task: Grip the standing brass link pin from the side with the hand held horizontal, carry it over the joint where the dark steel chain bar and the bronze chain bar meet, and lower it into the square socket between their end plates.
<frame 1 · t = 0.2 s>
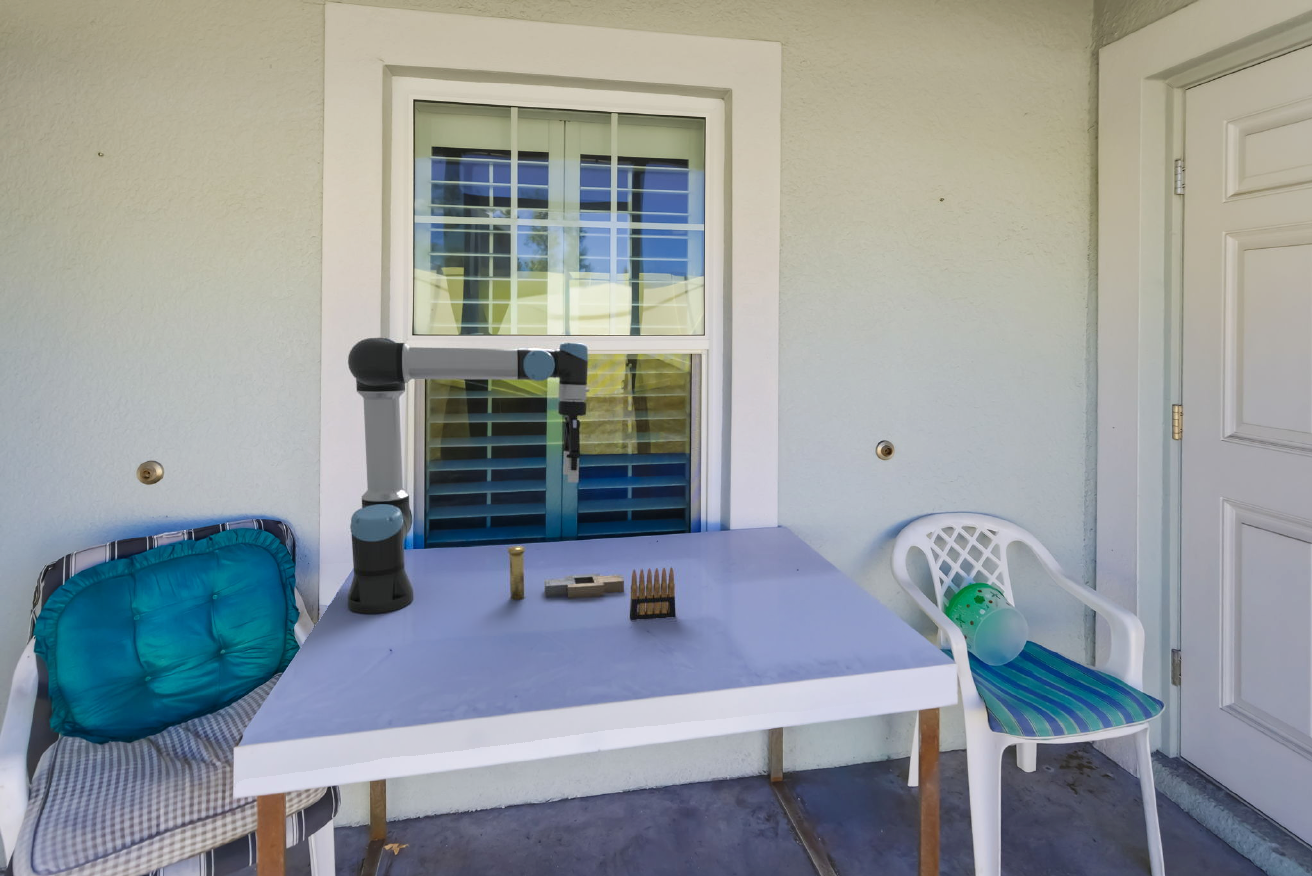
hand: (570, 478, 191), 27 cm above the table, tool pointing down, fingers open, 13 cm apart
chain joint: (584, 591, 181), on the table
link pin: (517, 597, 176), on the table
ammunition clip: (652, 618, 164), on the table
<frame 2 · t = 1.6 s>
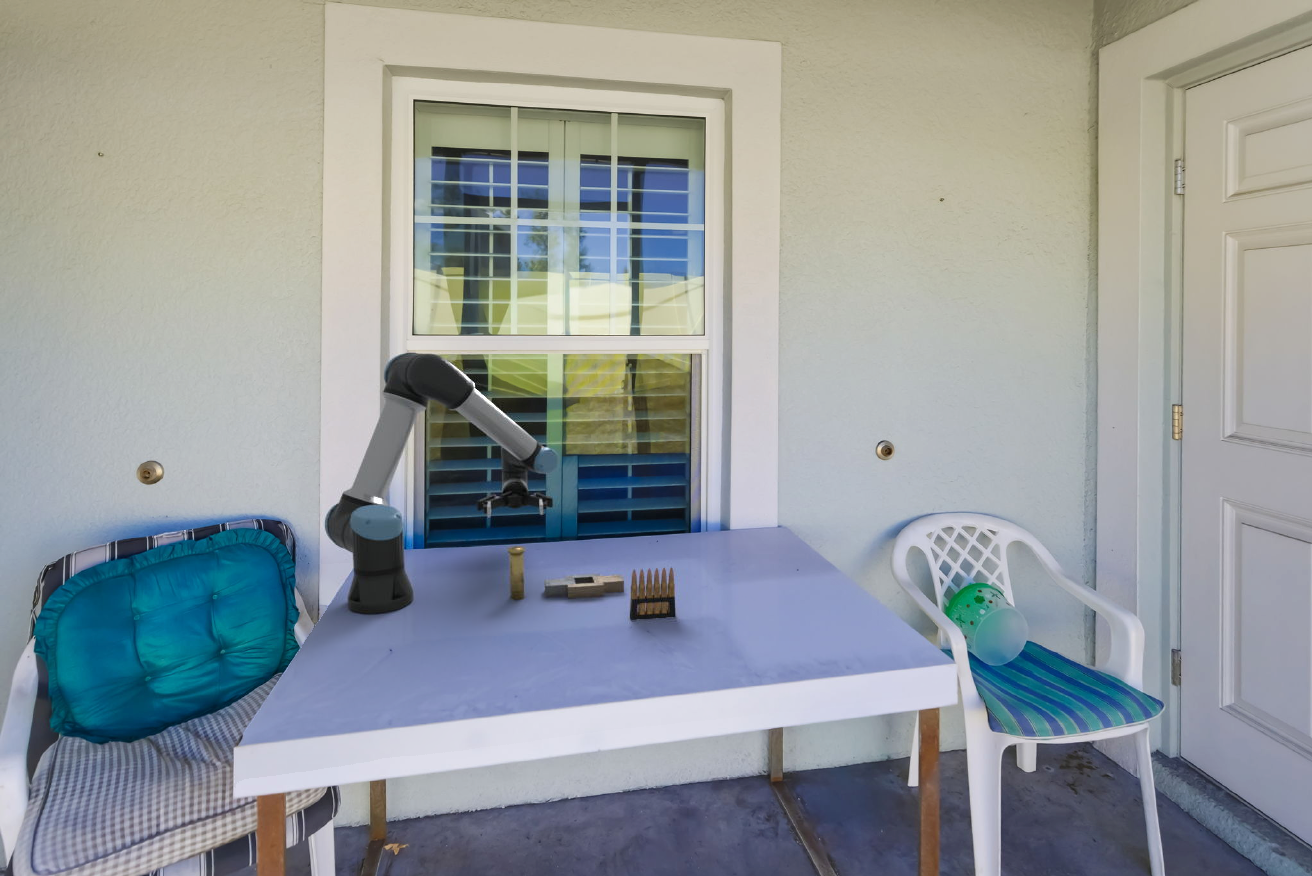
hand: (515, 511, 183), 20 cm above the table, tool horizontal, fingers open, 13 cm apart
nothing on the table moved.
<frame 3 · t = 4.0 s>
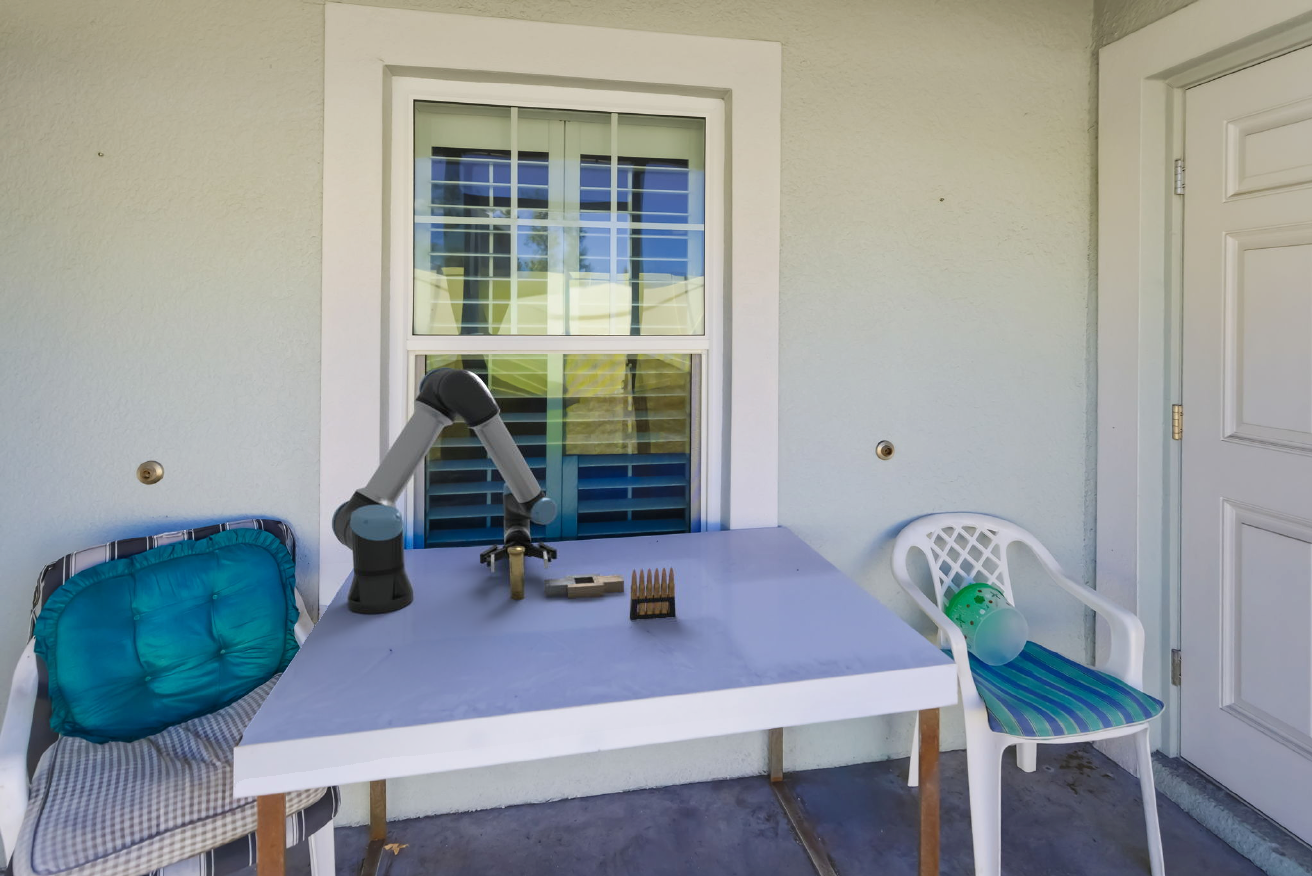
hand: (519, 565, 180), 7 cm above the table, tool horizontal, fingers open, 13 cm apart
nothing on the table moved.
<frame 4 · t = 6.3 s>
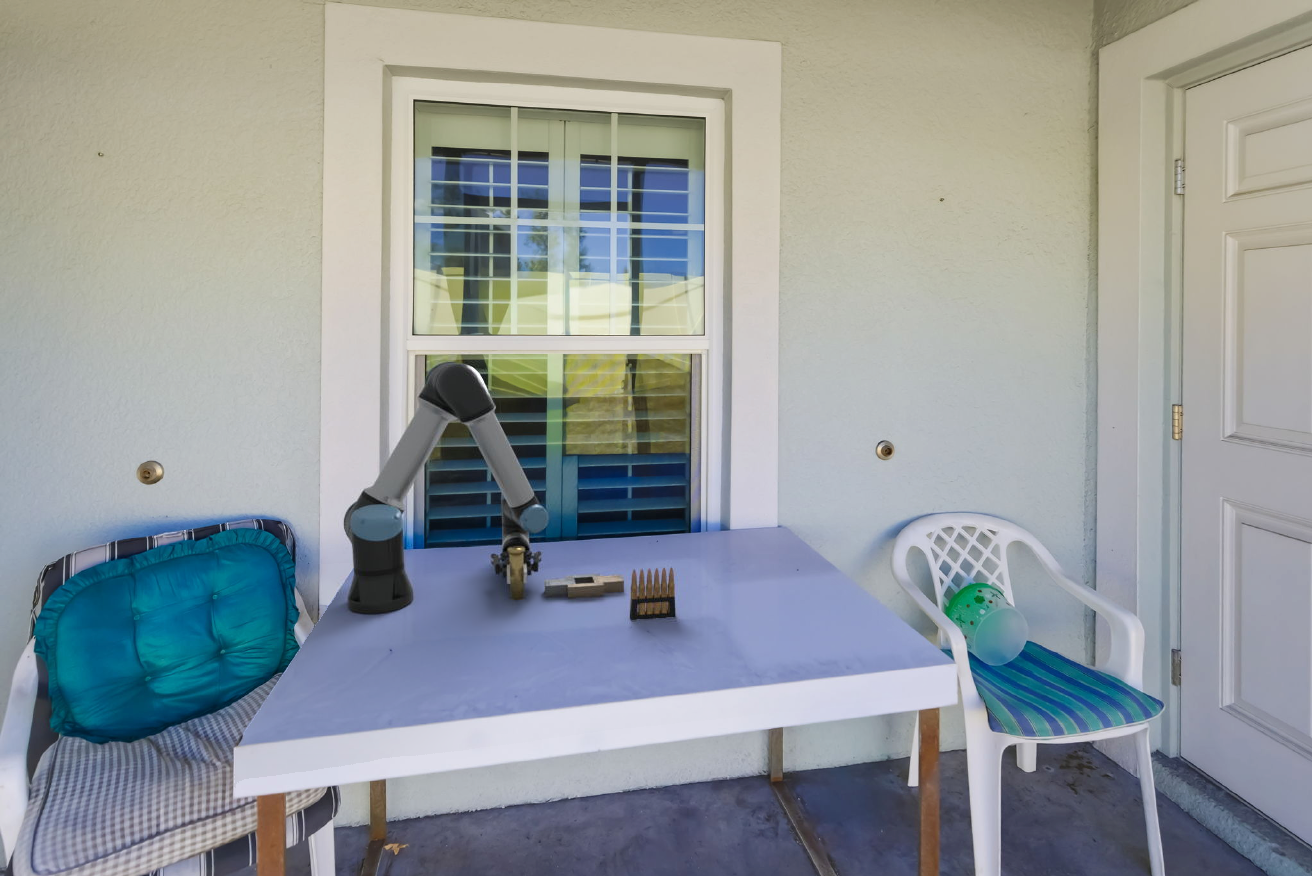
hand: (517, 577, 170), 7 cm above the table, tool horizontal, fingers closed on link pin, 3 cm apart
link pin: (517, 597, 176), on the table, touching gripper
everything else where it was.
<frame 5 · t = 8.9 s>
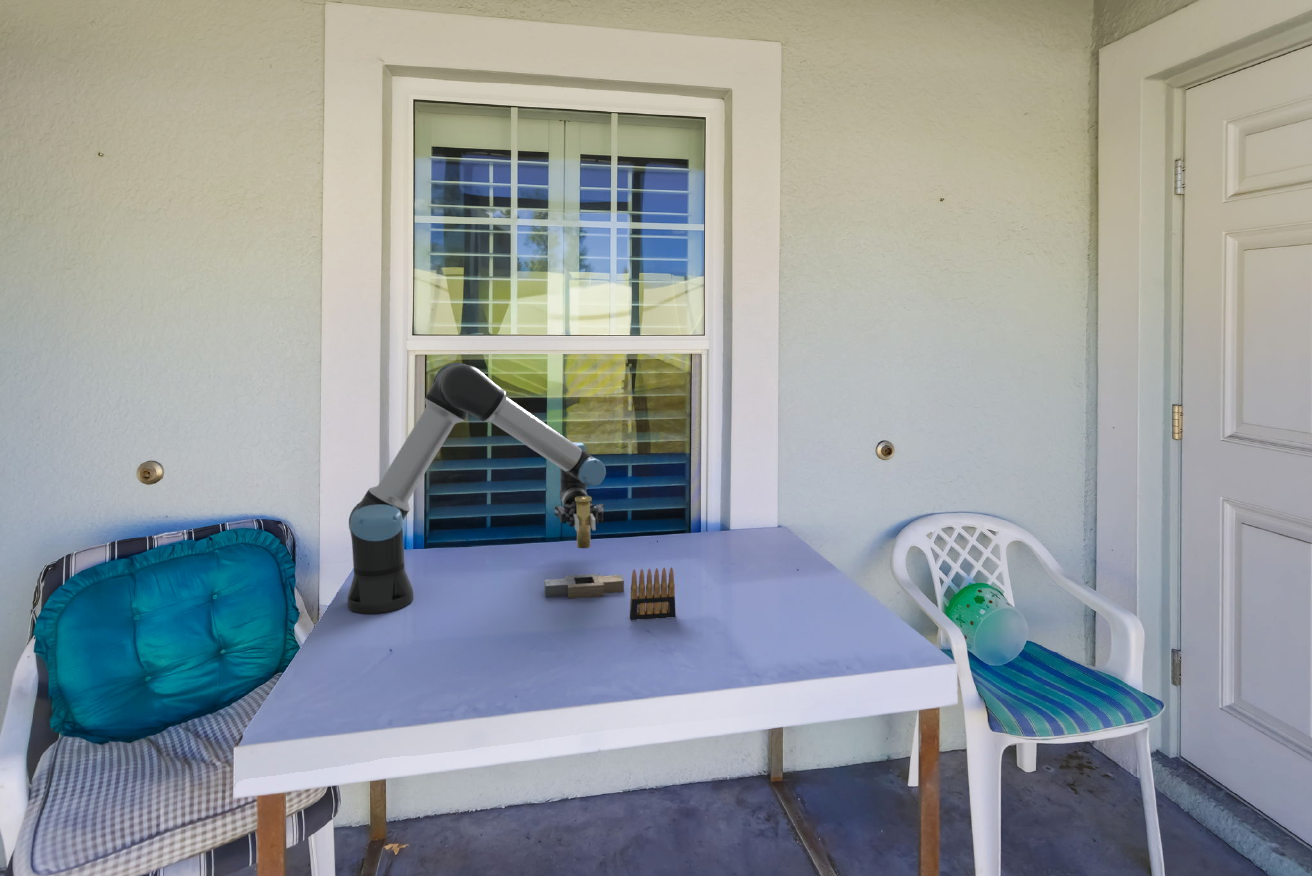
hand: (585, 525, 173), 19 cm above the table, tool horizontal, fingers closed on link pin, 3 cm apart
link pin: (583, 546, 179), point 12 cm above the table, touching gripper
everything else where it was.
when the fingers open (8 cm above the table, at t = 11.5 s): link pin drops 1 cm, resting in chain joint.
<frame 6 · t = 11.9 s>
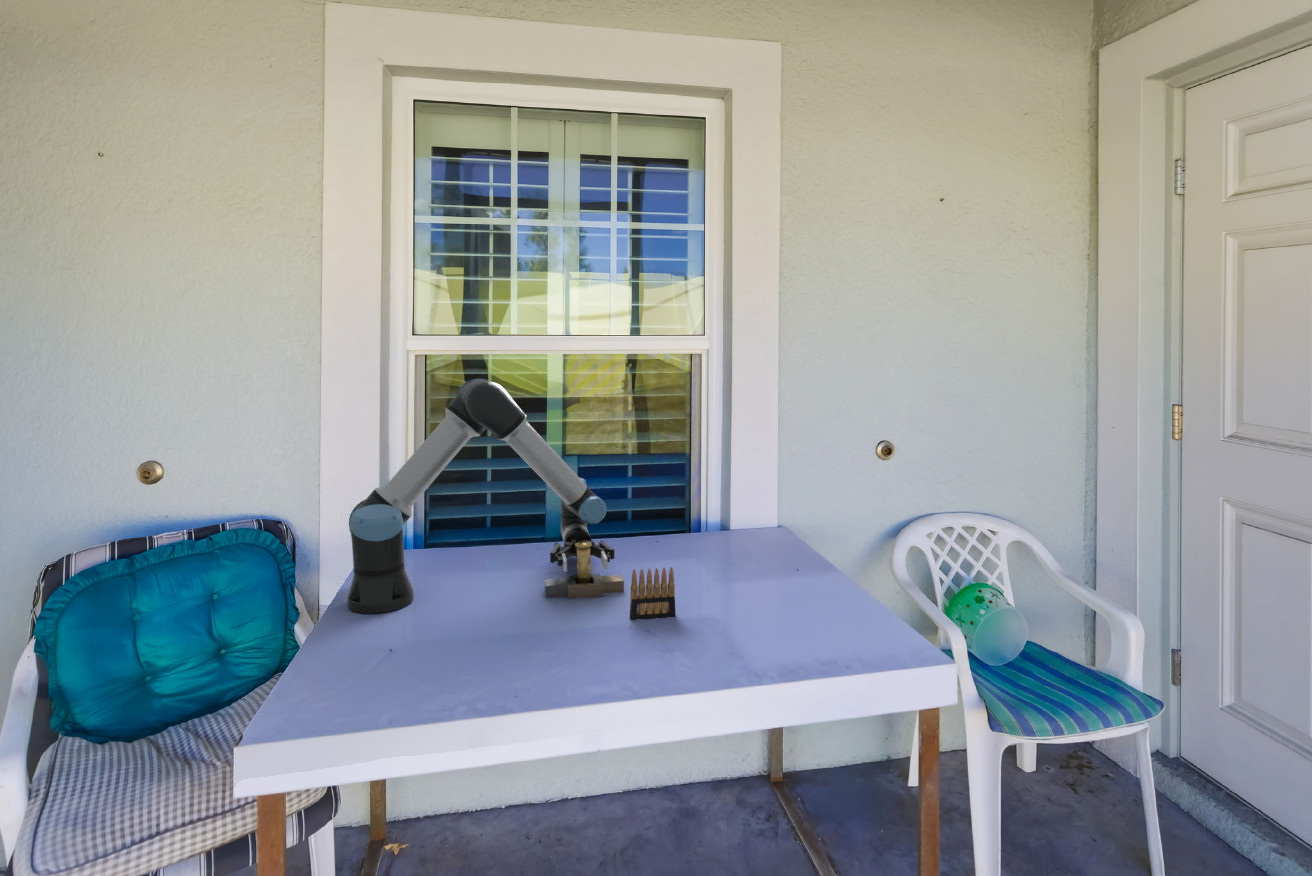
hand: (585, 565, 175), 8 cm above the table, tool horizontal, fingers open, 9 cm apart
link pin: (584, 591, 181), resting in chain joint
everything else where it was.
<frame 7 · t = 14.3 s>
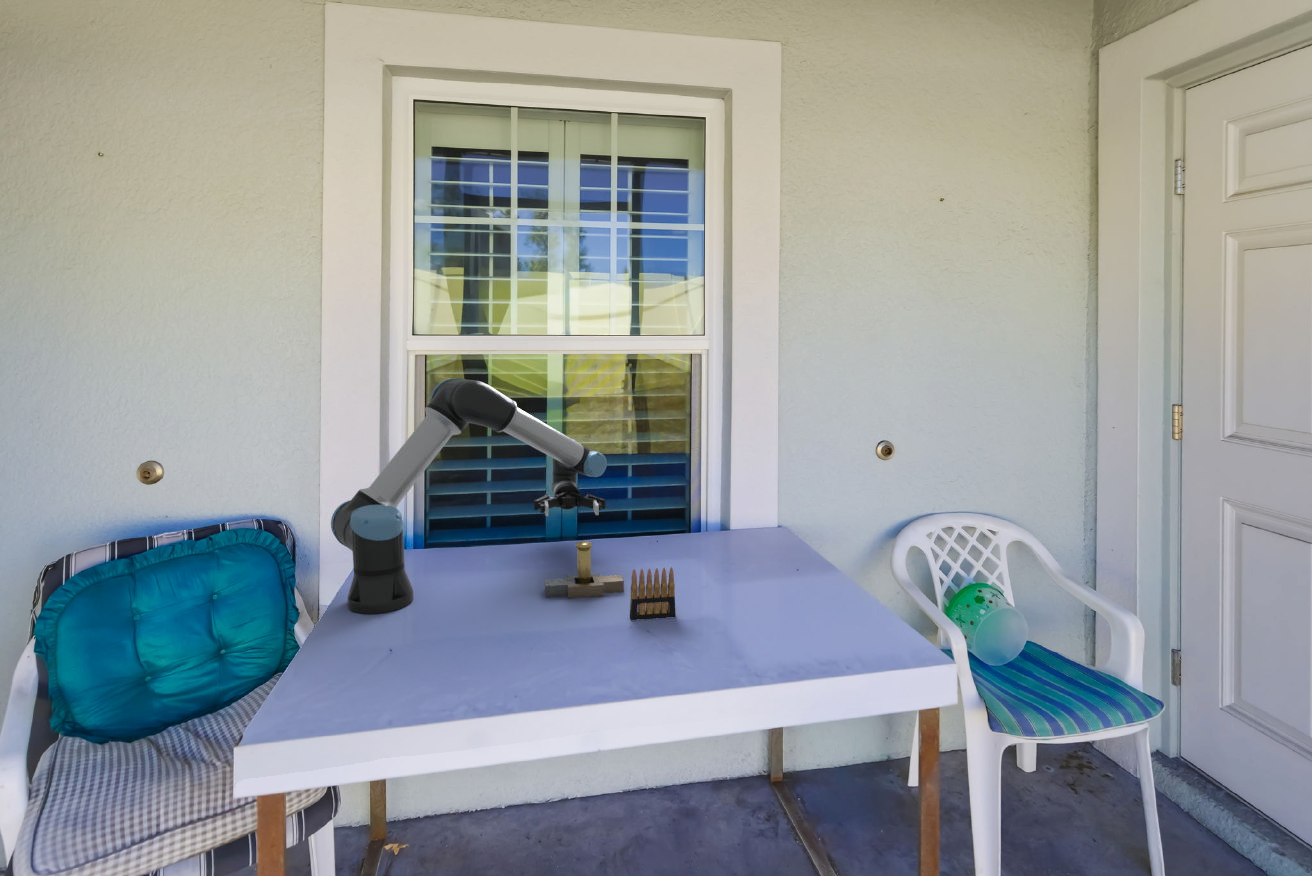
hand: (572, 510, 190), 18 cm above the table, tool horizontal, fingers open, 13 cm apart
nothing on the table moved.
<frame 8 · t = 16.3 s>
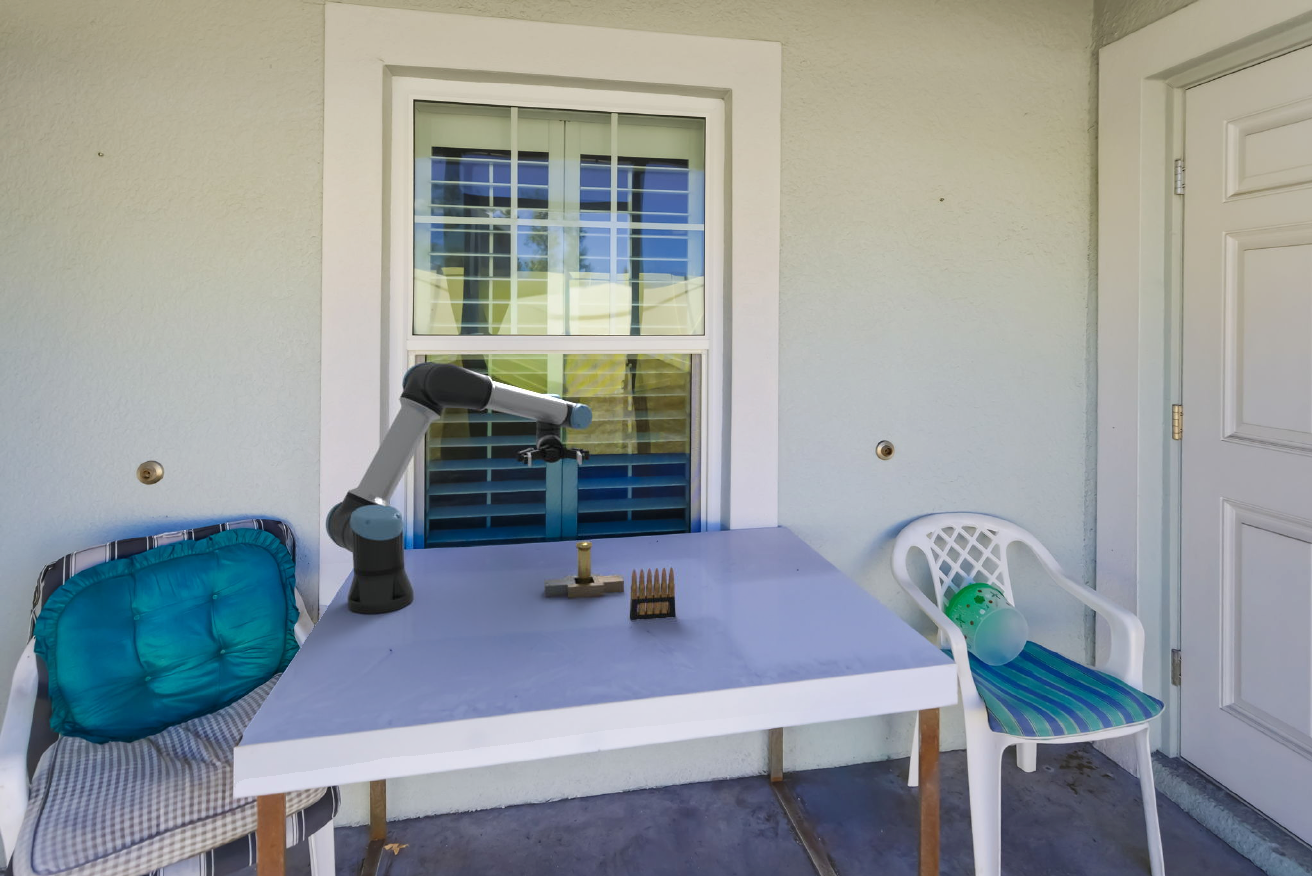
hand: (555, 460, 189), 32 cm above the table, tool horizontal, fingers open, 13 cm apart
nothing on the table moved.
at the end: link pin 0.1 cm off-centre on the chain joint, point 0.0 cm above the chain joint's base; link pin tilted 0°; the gripper is holding nothing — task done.
